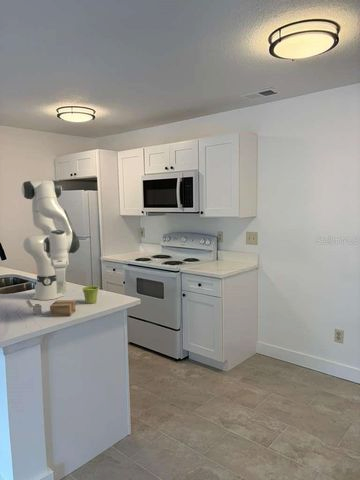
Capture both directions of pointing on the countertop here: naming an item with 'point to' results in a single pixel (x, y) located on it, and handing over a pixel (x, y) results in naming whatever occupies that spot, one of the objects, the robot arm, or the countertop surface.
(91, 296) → the plant pot
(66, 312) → the walnut block
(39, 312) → the lighter
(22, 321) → the countertop surface
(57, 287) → the sage block
